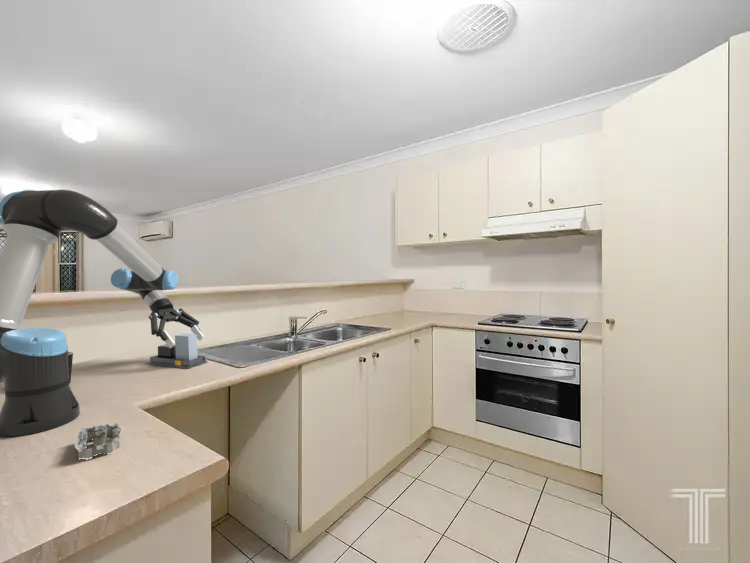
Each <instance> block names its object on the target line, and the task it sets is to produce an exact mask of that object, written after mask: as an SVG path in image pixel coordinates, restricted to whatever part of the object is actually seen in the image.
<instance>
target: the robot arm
mask: <svg viewBox="0 0 750 563" xmlns="http://www.w3.org/2000/svg"><path fill="white" fill-rule="evenodd" d="M0 221H1V223H2V224H3V225H2V230H3V231H4V232H5V233H6V234H7V237H6V239H5V241H4V244H3V246H2V249H1V251H0V383H3V384H4V397H5V398H4V401H3V404H2V405H1V409H0V436H2V437H18V436H26V435H32V434H36V433H40V432H45V431H47V430H52V429H54V428H57V427H60V426H63V425H65V424H68V423H70V422H73V420H75V419H77V418H78V417H79V415H80V414H81V411H80V410H81V409H80V404H79V402H78V400H77V398H76V396H75V394H74V391H73V390H72V389H71V386H70V383H69V365H68V352H69V344H68V341H67V335H66V333H65V332H63V331H62V330H59V329H56V328H48V327H47V328H45V327H39V328H34V327H33V328H31V327H30V328H28V327H27V328H25V327H24V326H23V325H22V324H23V321H24V317H25V314H26V311H27V309H28V306H29V303H30V300H31V298H32V295H33V293H34V289H35V287H36V283H37V280H38V277H39V274H40V272H41V269H42V266H43V263H44V261H45V257H46V255H47V252H48V249H49V246H50V245H52V244H55V243H57V242H59V239H60V236H61V233H62V231H75V232H78V233H81V234H82V235H84V236H85V237H87V238H88V239H90V240H94V241H97V242H98V243H99V244H101V245H102V247H104V248H105V249H107V251H109V252H110V253H111V254H112V255H114V257H116V258H117V259H118V260H120V261H121V262H122V263H123V264H124V265H126V266H127V267H128V268H129V269H130V270H129V269H126V268H117V269H116V270H114V271H113V272H112V273H111V275H110V283H111V285H112V286H113V287H115V288H117V289H120V290H124V291H127V292H131V293H135V294H138V295H139V296H140V298H142V300H143V301H144V303H145V304H146V305H147V307H148V308H149V309H150V311H151V312H150V314H149V315H148V318H149V321H150V331H151V333H150V334H151V335H152V336H156V337H157V338H160V340H162V341H163V342H164V343H165V344H167V345H168V346H169V348H172V347H173V345H175V340H173V338H172V337H171V335H170V334H169V333H168V332H167V330H164V329H165V325H166V323H169V322H176V323H180V324H182V325H184V326H186V327H188V328H190V330H191V332H192V333H193V334H196V335H197V341H199V342H201V341H202V340H203V339H204V337H205V335H204V334H203V333H202V332H201V329H200V328H199V327H198V326H199V324H200V321H199V320H197V319H196V318H194V317H193V316H191V315H190V314H188V312H186V311H184V309H182V308H181V307H180V308H178V310H177V309H175V308H174V304H173V303H172V302H171V301H170V299H169V298H168V296H167V295H166V294H165V292H164V291H172V290H175V289H176V288H177V287H178V284H179V276H178V274H177V272H176V271H175V270H170V269H167V270H166V269H164V268H163V267H162V266H161V265H160V263H158V262H157V261H156V260H155V259H154V258H153V257H152V256H151V255H150V254H149V253H148V252H146V251H145V250H144V248H142V247H141V245H139V244H138V242H136V241H135V240H134V239H133V238H132V237H131V236H130V235H129V234H128V233H127V232H126V231H125V230H124V229H123V228H122V227H121V226H120V225H119V221H118V219H117V217H116V216H115V215H114V214H113V213H111V211H109V210H108V209H107V208H106V207H105V206H103V205H102V204H100V203H99V202H97V201H96V200H94V199H92V198H91V197H89V196H86V195H85V194H82V193H80V192H78V191H76V190H75V191H74V190H70V189H51V190H50V189H49V190H46V189H45V190H33V189H24V190H20V191H13V192H11V193H9V194H6V195H4V196H3V198H2V199H1V200H0ZM158 319H159V320H160V321H159V326H158Z"/></svg>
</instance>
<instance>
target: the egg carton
mask: <svg viewBox="0 0 750 563" xmlns="http://www.w3.org/2000/svg"><path fill="white" fill-rule="evenodd" d="M121 432H122V428H121V427H120V425H119V423H117V422H116V423H114V425H110V424H108V423H106V424H105V425H102V424H101V425H98V426H96V425H95V426H94V425H93V426H92V427H81V428H80V430H79V432H78V436H76V440H75V443H74V448H75V449H76V450H77V451H78V452H77V453H78V454H77V455H78V456H77V458H83V457H84V458H90V457H93V456H94V455H96V454H99V453H111V452H113V451H114V450H116V449H118V448H121V447H120V446H121V440H120V437H121V436H120V433H121ZM110 435H111V436H110ZM108 437H112V438H111V439H109V440H108ZM92 439H93V440H92ZM88 440H91V441H93V446H92V447H91V448H90V449H88V442H89V441H88ZM87 441H88V442H87ZM103 444H105V445H103ZM86 447H87V449H86Z"/></svg>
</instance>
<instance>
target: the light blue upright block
mask: <svg viewBox="0 0 750 563" xmlns="http://www.w3.org/2000/svg"><path fill="white" fill-rule="evenodd" d="M174 342H175V344H174V345H175V349H176V359H181V360H192V359H195V358H198V355H199V354H198V339H197V335H196V334H194V333H193V334H192V333H180V334H177V335H176V334H175V335H174Z"/></svg>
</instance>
